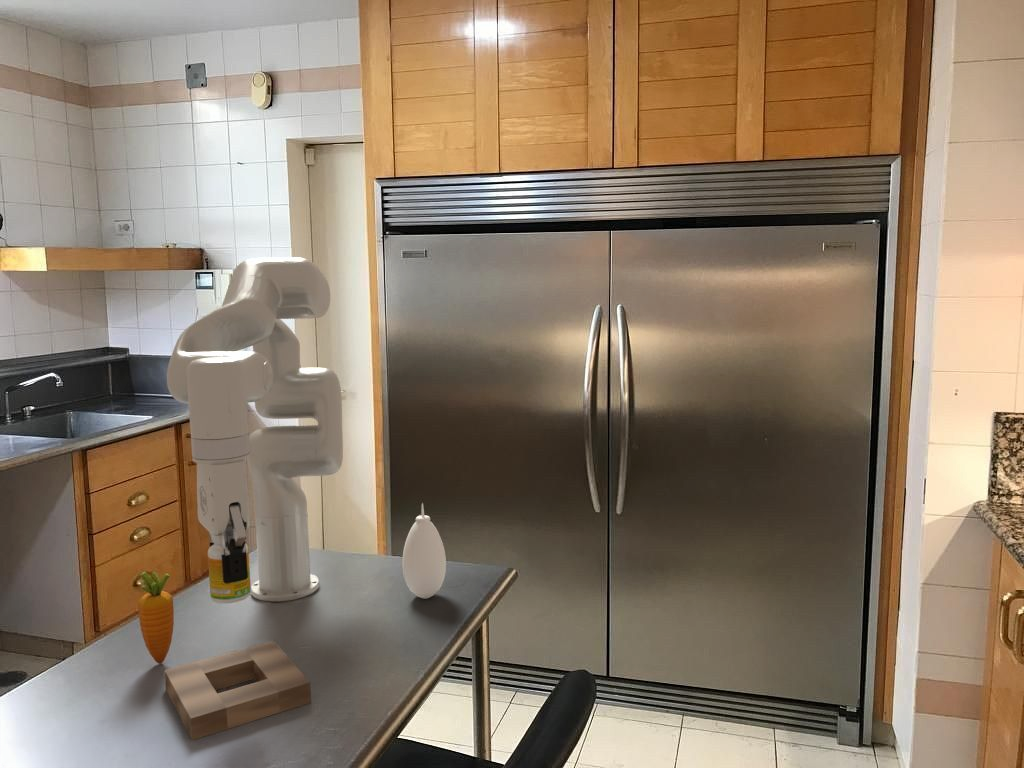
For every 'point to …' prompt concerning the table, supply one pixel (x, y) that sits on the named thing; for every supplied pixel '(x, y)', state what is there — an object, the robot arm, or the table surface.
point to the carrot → (156, 616)
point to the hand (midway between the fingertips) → (229, 573)
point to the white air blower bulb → (424, 558)
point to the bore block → (218, 712)
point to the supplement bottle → (217, 586)
